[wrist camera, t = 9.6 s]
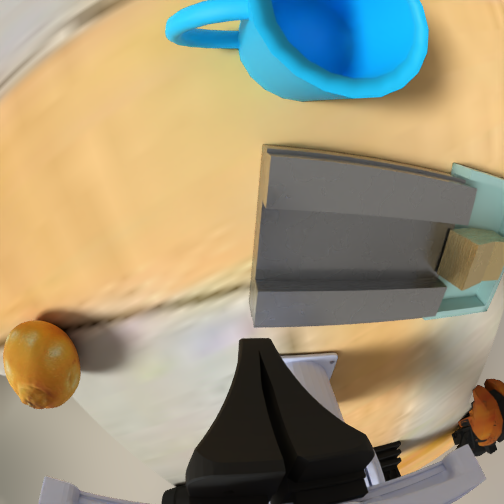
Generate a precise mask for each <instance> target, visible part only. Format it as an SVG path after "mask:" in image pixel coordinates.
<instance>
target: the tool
mask: <svg viewBox="0 0 504 504" xmlns="http://www.w3.org/2000/svg"><path fill="white" fill-rule="evenodd" d="M484 385H485V388H484V387H482V386H480V385H477V386H476V388H475V389H474V390H473V397H474V401H473V402H472V403H471V404H472V409H471V410H470V411H469V413H470V415H469V416H468V417H467V418H465V419H462V420H460V421H459V422H458V423H459V426H460V429H458V430H457V431H455V432H454V433H453V434H452V437H453V440H454V443H455V445H458V444H459V445H458V446H457V448H456V449H458V448H460V447H462V446H464V445H466V444H468V445H469V446H470V448H471V450H472V452H473V454H474V456H480V455H482V454H483V453H485V452H486V451H487V452H488V453H490V454H492V453H493V452H495V451H496V450H497V448H496V445H495V443H496V441H498V442H501V441H503V440H504V383H503V382H501V381H500V380H495V379H486V381H485V383H484ZM456 449H455V450H456Z"/></svg>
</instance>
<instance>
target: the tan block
mask: <svg viewBox="0 0 504 504" xmlns="http://www.w3.org/2000/svg"><path fill="white" fill-rule="evenodd" d="M495 242H496V241H494V240H492V239H491V238H489V237H487V236H485V235H483V234H481V233H480V232H478V231H476V230H474V229H472V228H462V229H452V230H450V233H449V236H448V239H447V243H446V246H445V249H444V253H443V256H442V259H441V262H440V265H439V268H438V271H437V274H438V275H439V276H441V277H442V278H444V279H445V280H447V281H448V282H450V283H451V284H453V285H454V286H456V287H457V288H458V289H460V290H461V291H463V290H465V289H468V288H470V287H472V286H474V285H476V284H479V283H481V281H482V279H483V276H484V273H485V271H486V268H487V265H488V263H489V260H490V257H491V254H492V251H493V248H494V245H495Z"/></svg>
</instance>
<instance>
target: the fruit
mask: <svg viewBox="0 0 504 504" xmlns="http://www.w3.org/2000/svg"><path fill="white" fill-rule="evenodd" d="M3 360H4V368H5V373H6V376H7V379H8V381H9V383H10V385H11V387H12V388H13V389H14V391H15V392H16V393H17V395H18V396H19V397H20V399H21V401H22V403H24V404H27V405H29V406H30V407H33V408H36V409H44V408H54V407H58V406H60V405H62V404H63V403H65V402H66V401H67V400H68V399H69V398H70V397H71V396H72V395H73V393H74V392H75V390H76V388H77V387H78V384H79V381H80V374H81V372H80V362H79V357H78V353H77V351H76V348H75V346H74V344H73V342H72V341H71V339H70V338H69V336H68V335H67V334H66V333H65V332H64V331H63V330H62V329H60V328H59V327H57V326H55V325H54V324H51V323H48V322H45V321H39V320H35V321H28V322H24V323H21V324H19V325H18V326H16V327H15V328H14V329H13V330H12V331H11V332H10V334H9V335H8V337H7V340H6V343H5V347H4V353H3Z"/></svg>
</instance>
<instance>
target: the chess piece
mask: <svg viewBox="0 0 504 504" xmlns="http://www.w3.org/2000/svg"><path fill="white" fill-rule="evenodd" d="M400 445H401V442H400V441H397V442H393V443H390V444H386V445H382V446H378V447H374V448H373V449H374V451H375V453H376V455H377V458H378V460H379V463H380V466H381V469H382V472H383V475H384V478H385V482H386V481H389V480H392V479H395V478H398V477H401V475H400V472H399V470H398V468H397V465H398V464H399V463H400V462H401V458H397V457H398V455H399V454H400V453H401V450H400V449H398V450H397V448H398V447H399V446H400Z"/></svg>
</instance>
